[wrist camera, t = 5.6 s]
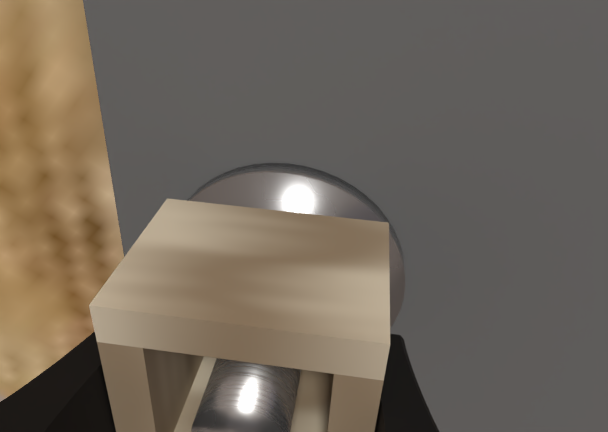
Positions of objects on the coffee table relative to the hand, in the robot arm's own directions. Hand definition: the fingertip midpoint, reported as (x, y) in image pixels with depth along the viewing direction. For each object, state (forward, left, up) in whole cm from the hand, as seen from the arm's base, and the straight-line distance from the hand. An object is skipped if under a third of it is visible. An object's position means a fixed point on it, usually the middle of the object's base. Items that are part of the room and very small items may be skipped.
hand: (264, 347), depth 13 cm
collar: (0, 0, -2) cm, 2 cm away
